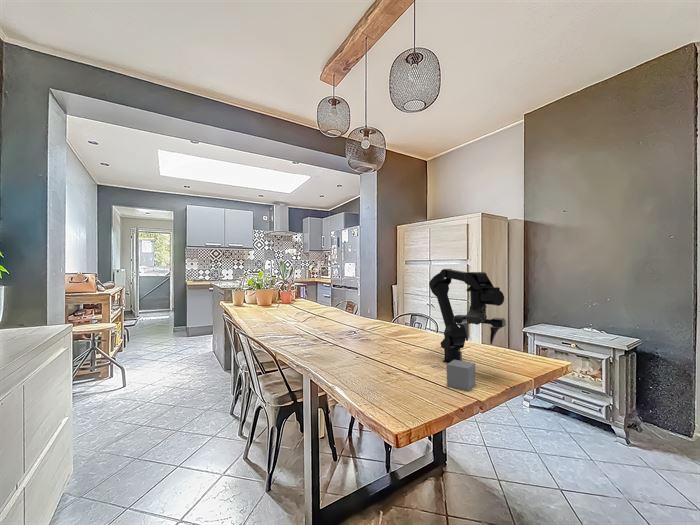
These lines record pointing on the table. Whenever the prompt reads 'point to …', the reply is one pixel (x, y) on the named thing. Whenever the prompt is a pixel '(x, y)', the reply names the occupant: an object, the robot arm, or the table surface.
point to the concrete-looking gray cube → (461, 375)
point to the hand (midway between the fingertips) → (479, 342)
